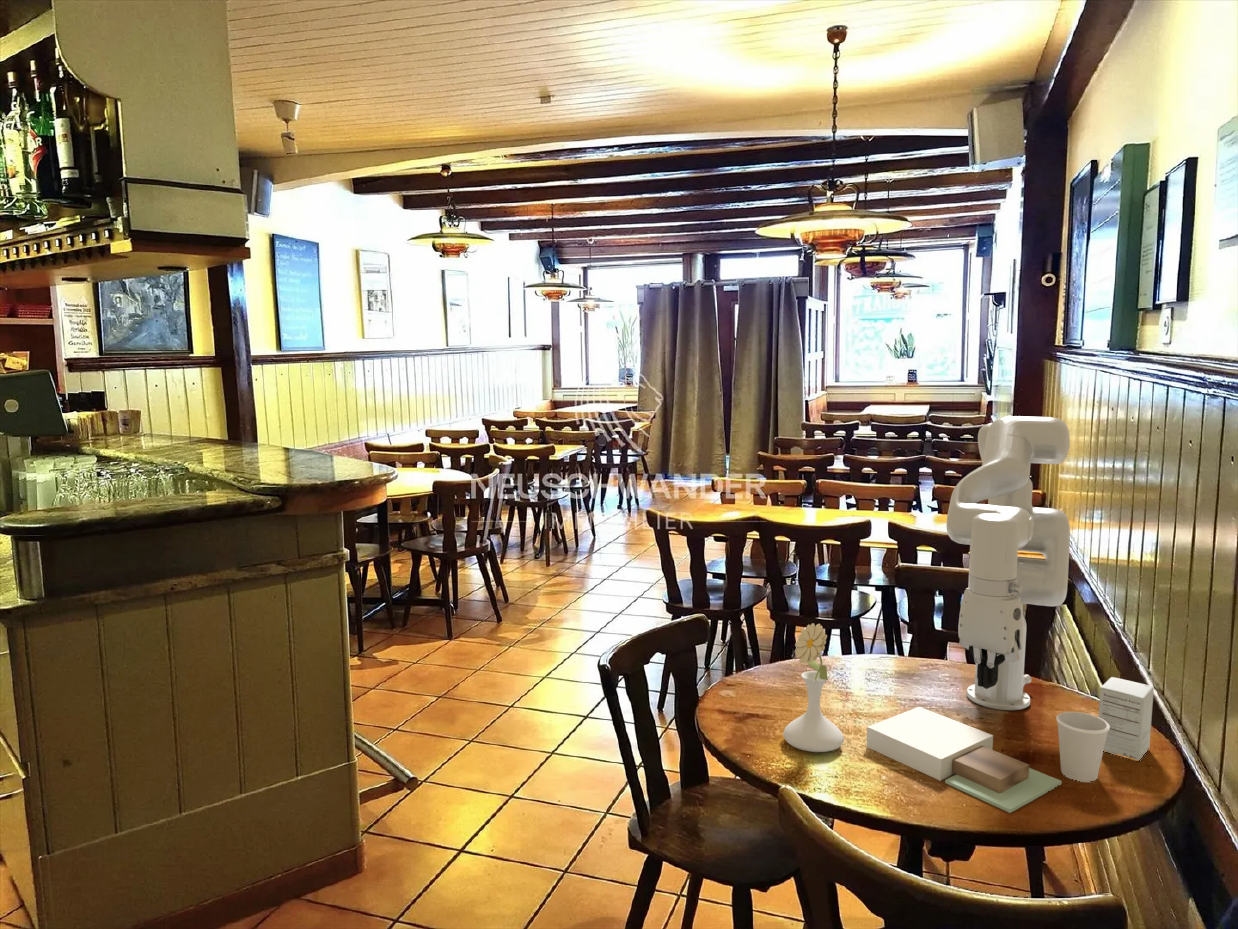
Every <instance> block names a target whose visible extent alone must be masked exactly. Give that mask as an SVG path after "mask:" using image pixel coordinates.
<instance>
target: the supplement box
mask: <svg viewBox="0 0 1238 929" xmlns="http://www.w3.org/2000/svg"><path fill="white" fill-rule="evenodd" d="M1154 688H1155V687H1154V686H1152V685H1148V684H1145V683H1141V682H1136V681H1132V680H1127V679H1123V678H1119V677H1114V676H1110V678H1108V679H1107V681H1105V682H1104V684H1102V685H1101V686H1100V690H1099V691H1100V692H1099V703H1098V716H1097V717H1099V718H1101V719H1103V720H1105V721H1106V722H1107V723H1108V724H1109V726H1110V729H1109V731H1108V732H1107V737H1106V741H1105V746H1104V750H1103V751H1106V752H1109V753H1112V754H1118V755H1119V754H1120V755H1122V756H1126V757H1129V758H1133V759H1135V760H1140V759H1141V758H1142V757H1143V755H1144V754H1145V753H1146V752H1147V750H1148V748H1149V749H1150V748H1151V747H1150V746H1151V745H1150V744H1151V731H1152V730H1151V729H1152V717H1153V716H1152V715H1153V702H1154V691H1155V690H1154ZM1148 751H1149V750H1148ZM1147 753H1148V752H1147ZM1147 753H1146V754H1147ZM1112 754H1111V755H1112ZM1146 754H1145V755H1146ZM1145 755H1144V756H1145ZM1143 758H1144V757H1143ZM1143 758H1142V759H1143ZM1142 759H1141V760H1142ZM1141 760H1140V761H1141Z"/></svg>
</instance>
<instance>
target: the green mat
mask: <svg viewBox="0 0 1238 929" xmlns="http://www.w3.org/2000/svg"><path fill="white" fill-rule="evenodd" d="M944 780H945V782H944V783H945V784H947V785H948V786H951V787H952V788H955V789H957V790H959V791H961V792H964V793H966V794H968V795H970V796H972V797H974V798H976V799H979V800H981V801H983V802H985V803H988V804H990V805H992V806H994V807H996V808H998V809H1001V810H1003V811H1005V812H1007V813H1009V814H1011V813H1013V812H1015V811H1016V810H1018V809H1020V808H1021V807H1024V806H1025V805H1027V804H1029V803H1031V802H1033V801H1034V800H1036V799H1038V798H1039V797H1041V796H1044V795H1045V794H1047V793H1048V791H1049V792H1050V791H1052V790H1054V789H1056V788H1057V786H1058V785H1059V786H1061V785H1062V780H1061V779H1058V778H1055V777H1052V776H1050V775H1047V774H1045V773H1043V772H1040V771H1038V770H1037V769H1033V768H1031V767H1029V777H1028V779H1026V780H1024V781H1022V782H1020V783H1018V784H1017V785H1015V786H1013V787H1011V788H1009V789H1007V790H1006V791H1004V792H1002V793H1000V794H999V793H997V792H995V791H993V790H990V789H988V788H986V787H984V786H981V785H979V784H977V783H975V782H972V781H970V780H968V779H966V778H963V777H961V776H959V775H956V774H953V775H951V776H949V777H947V778H945V779H944ZM1059 786H1058V787H1059ZM1055 787H1056V788H1055Z"/></svg>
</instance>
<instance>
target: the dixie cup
mask: <svg viewBox="0 0 1238 929" xmlns="http://www.w3.org/2000/svg"><path fill="white" fill-rule="evenodd" d="M1055 719H1056V722H1057V732H1058V744H1059V745H1058V746H1059V747H1058V748H1059V759H1060V761H1059V762H1060V771H1061V773H1062V775H1063V776H1064V775H1065V776H1064V777H1066V778H1068V779H1069V780H1072V779H1073V780H1072V781H1075V780H1077V781H1076V782H1079V781H1080V783H1091V782H1090V781H1094V780H1096V779H1097V780H1098V778H1099V777H1098V776H1099V773H1100V772H1099V771H1100V769H1101V768H1100V767H1101V764H1102V758H1103V755H1104V752H1103V750H1104V746H1105V741H1106V737H1107V732H1108V731H1109V729H1110V726H1109V724H1108V723H1107V722H1106V721H1105V720H1103V719H1101V718H1099V717H1098V716H1097V715H1094V714H1090V713H1086V712H1082V711H1081V712H1080V711H1064V712H1061V713H1058V714H1057V715H1056V717H1055ZM1097 780H1096V781H1097ZM1094 782H1095V781H1094Z"/></svg>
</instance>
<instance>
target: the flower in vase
mask: <svg viewBox="0 0 1238 929" xmlns="http://www.w3.org/2000/svg"><path fill="white" fill-rule="evenodd" d="M827 638H828V635H827V634H826V630H825V629H824V628H823V626H822V625H821V624H820V623H818V624H816V625H815V623H811V624H808V625H806V628H802V629H801V631H800V634H799V635H798V637H797V641H796V642H795V644H794V646H795V647H796V649H795V652H794V655H795V658H796V659H799V663H800V664H802V663H803V664H807V665H808V666H809V667H811V668H812V669H814V670H809V671H807V670H806V671H804V672H802V673H801V675H800V676H801V678H802V679H803V681H804V684H805V686H806V689H807V699H808V700H807V709H806V711H805V712H804V713H803V714H802V715H800V716H798V717H797V718H795V719H793V720H792V721H791V722H789V723H788V724H787V725H786V726H785V728H784V730H783V732H782V736H783V738H784V740H785V741H786V743H787V744H788V745H790V746H792V747H794V748H796V749H798V750H802V751H805V752H811V753H825V752H826V753H827V752H832V751H835V750H837V749H839V748H840V747H841V746H842V744H843V743H844V740H845V738H844V734H843V732H842V730H840V728H839V727H838V726H837V725H836V724H834V723H833V722H832V721H831V720H830V719H828V718H827V717H826V716H824V714H823V712H822V711H821V696H822V691H823V690H822V689H823V686H824V685H825V683H826V682H827V681H828V680H829V676H828V666H827V665H826V664H825V665H824V664H823V659H822V655H821V654H822V652H823V651H825V648H826V646H825V645H826V643H827ZM817 658H819V661H820V664H819V663H818V662H817V661H816V660H817Z"/></svg>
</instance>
